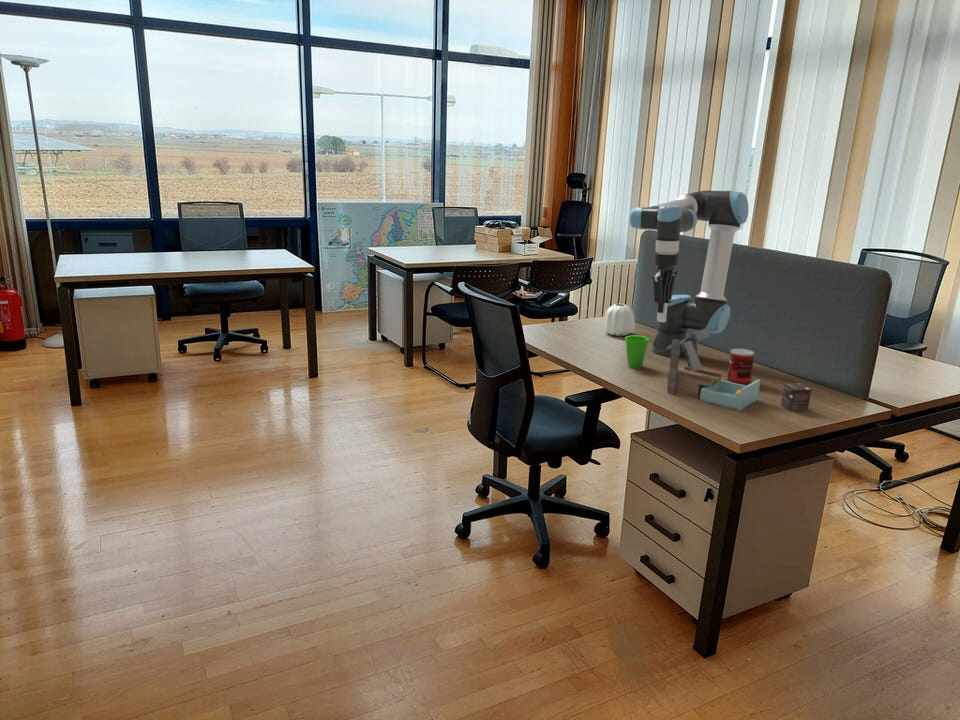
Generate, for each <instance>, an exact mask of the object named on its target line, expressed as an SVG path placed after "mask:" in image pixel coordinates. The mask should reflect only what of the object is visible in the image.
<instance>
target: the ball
mask: <svg viewBox="0 0 960 720" xmlns="http://www.w3.org/2000/svg"><path fill="white" fill-rule="evenodd" d="M740 391H741V390H738V391H737V392H736V393H735V397H740Z"/></svg>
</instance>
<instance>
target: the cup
mask: <svg viewBox="0 0 960 720" xmlns="http://www.w3.org/2000/svg"><path fill="white" fill-rule="evenodd" d="M624 340H625V346H626V355H627V357H626V358H627V365H628V367H629V368H632V369H640V368H642V367H643V365H644V360H645V356H646V351H647V347H648V343H649V341H650V338H649V337H648V336H643V335H638V334H635V335H633V334H632V335H631V334H629V335H625V337H624Z"/></svg>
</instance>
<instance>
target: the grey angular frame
mask: <svg viewBox="0 0 960 720" xmlns="http://www.w3.org/2000/svg"><path fill="white" fill-rule="evenodd" d="M695 332H696V331H691V332H690V336H689V337H691V336H695ZM680 342H681V341H680V340H675V339H673V340H672V348H671V356H670V358H669V359H670V360H669V362H670V363H669V370H668V371H669V372H668V374H667V375H668V377H667V394H670V395H676V394H677V393H680V394H684V395H689V396H692V397H696V398H698V397H700V394H701V389H702V388H704V387H706V386H709V387H711V386H713V385H715V384H717V383H718V382H720V381H721V380H722V375H723V374H722V373H719V372H718V373H717V372H715V371H709V370H705V369H702V368H700V369H698V370H696V371H692V369H691V366H690V364H689V362H688V361H687V366H686V365H685V366H684V368H683V367H679V362H680V356H679V353H680ZM691 342H692V345H693V347H694V349H695V352H696V354H697V355H698V347H699V341H698V340H697V338H696V339H694V340H692V341H691Z"/></svg>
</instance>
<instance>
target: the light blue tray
mask: <svg viewBox="0 0 960 720" xmlns="http://www.w3.org/2000/svg"><path fill="white" fill-rule="evenodd" d="M760 386H761V379H756V380H754V381H752V382H750V383H748V384H737V383H732V382H730V381H727V380H723V379H721V381H720V382H718V383H717V384H715V385H713V386H711V387H709V386H706V387H704V388H702V389H701V394H700V396H699V401H700V402H703V403H708V404H713V405H714V406H720V407H724V408H727V409H732V410H735V411H739V412H741V411H743V410H745V409H746V408H748V407H749V406H751V405H753V404H754V403H756V402H758V401H759V395H760V393H759V392H760ZM738 390H741V391H740V397H735V393H736V392H737V391H738Z"/></svg>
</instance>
